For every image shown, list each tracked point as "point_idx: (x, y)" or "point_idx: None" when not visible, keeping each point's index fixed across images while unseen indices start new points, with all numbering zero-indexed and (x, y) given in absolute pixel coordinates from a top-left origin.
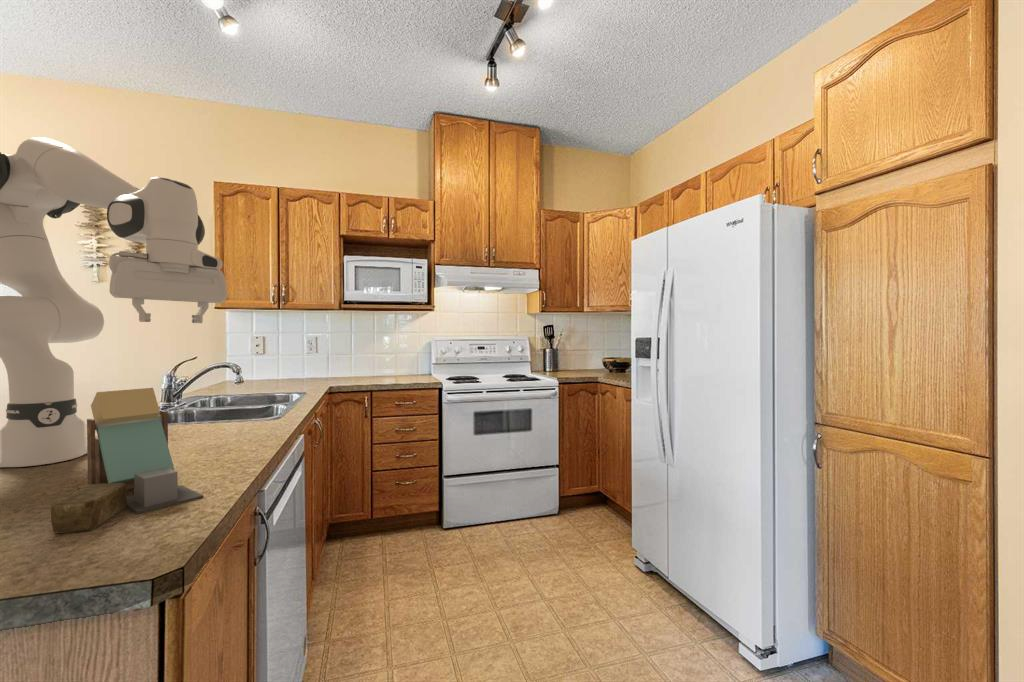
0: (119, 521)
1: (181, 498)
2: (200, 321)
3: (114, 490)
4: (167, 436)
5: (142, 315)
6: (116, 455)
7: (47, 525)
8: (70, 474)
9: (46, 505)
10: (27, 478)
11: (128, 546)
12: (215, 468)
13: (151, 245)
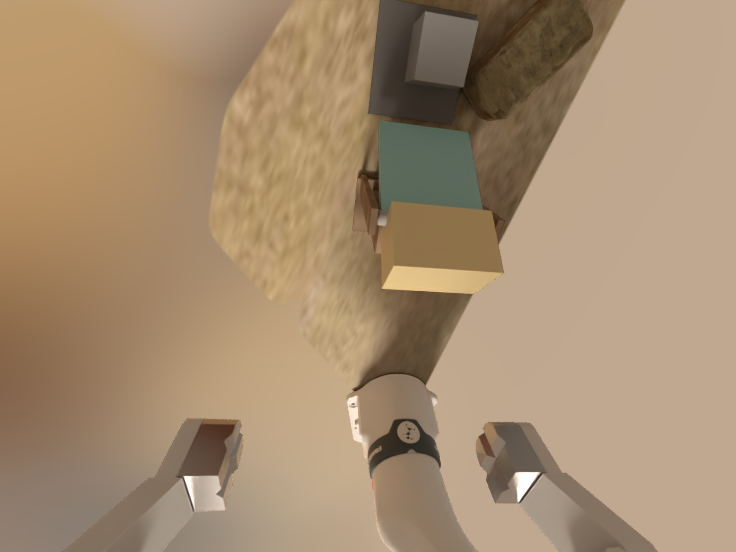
0: (504, 6)
1: (408, 20)
2: (198, 422)
3: (509, 41)
4: (367, 192)
5: (549, 454)
6: (458, 166)
7: (539, 98)
8: (408, 316)
9: (489, 198)
10: (437, 333)
11: None
12: (283, 181)
13: None
